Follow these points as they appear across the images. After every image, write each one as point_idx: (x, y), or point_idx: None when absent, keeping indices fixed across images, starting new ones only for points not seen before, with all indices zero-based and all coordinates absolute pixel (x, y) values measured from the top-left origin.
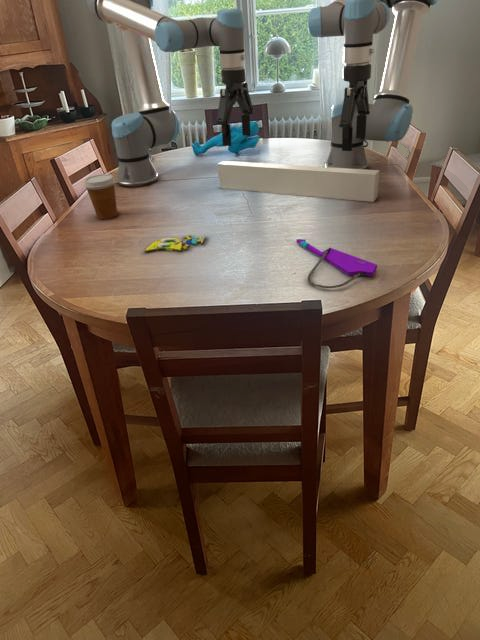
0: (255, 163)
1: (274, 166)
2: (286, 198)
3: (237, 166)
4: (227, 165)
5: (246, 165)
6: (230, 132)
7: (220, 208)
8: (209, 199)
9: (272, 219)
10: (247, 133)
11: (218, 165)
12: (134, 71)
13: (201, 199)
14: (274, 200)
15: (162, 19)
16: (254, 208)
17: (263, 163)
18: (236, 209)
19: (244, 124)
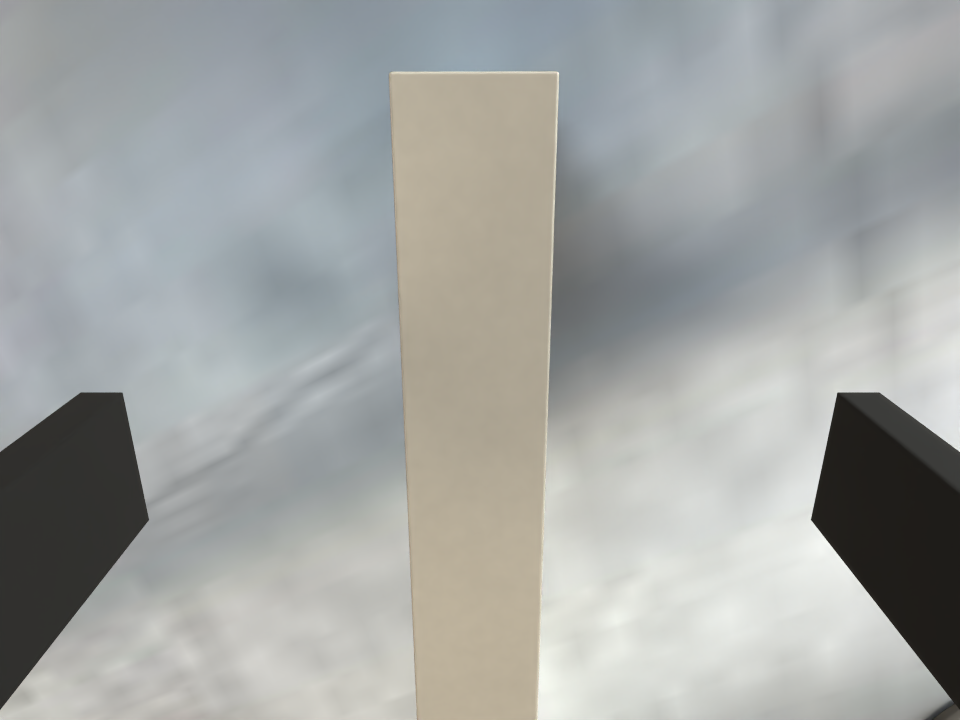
0: (515, 504)
1: (458, 696)
2: (361, 659)
3: (402, 351)
4: (396, 222)
5: (428, 448)
6: (12, 686)
7: (5, 350)
8: (125, 154)
9: (22, 710)
10: (834, 507)
11: (389, 85)
12: None
13: (92, 78)
14: (301, 611)
15: None
16: (120, 560)
17: (532, 574)
18: None
19: (949, 564)
